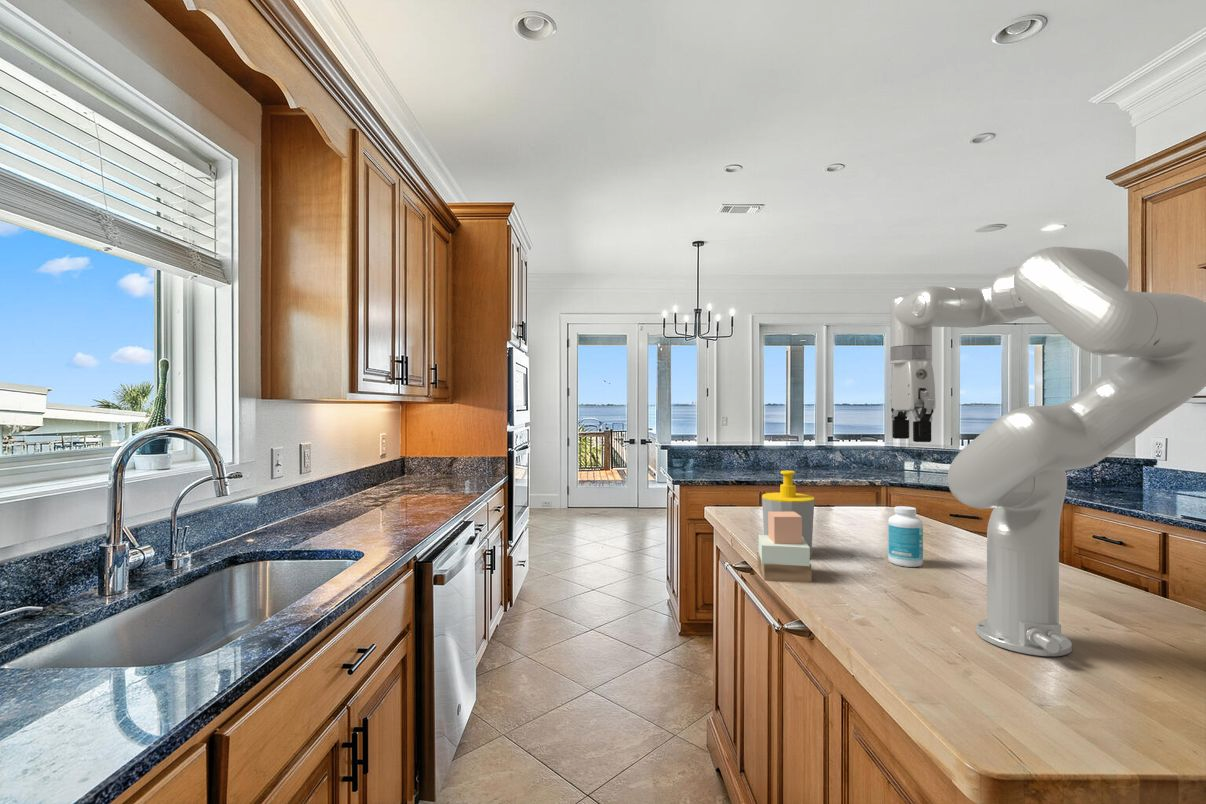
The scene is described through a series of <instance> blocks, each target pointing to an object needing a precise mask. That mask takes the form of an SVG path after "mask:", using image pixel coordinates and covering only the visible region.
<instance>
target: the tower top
mask: <svg viewBox="0 0 1206 804" xmlns="http://www.w3.org/2000/svg"><path fill="white" fill-rule="evenodd" d="M758 552H759V555H760V559H761V562H762V564H779V565H797V566H810V564H811V563H810V562H811V560H810V558H811V557H810V547H809V546H808V544H807V543H806V541H805V539H804V538H803V537H802V544H774V543H773V542H772V541H771V540H770V539H769V537H768V535H764V534H758Z"/></svg>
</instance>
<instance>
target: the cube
mask: <svg viewBox="0 0 1206 804" xmlns="http://www.w3.org/2000/svg"><path fill="white" fill-rule="evenodd" d="M768 537H769V539H770V540H771V541H772V542H773V543H774V544H802V517H801V516H800V515H798V514H797V513H796V512H768Z"/></svg>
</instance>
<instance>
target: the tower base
mask: <svg viewBox="0 0 1206 804" xmlns="http://www.w3.org/2000/svg"><path fill="white" fill-rule="evenodd" d="M756 568H757V570H758V572H759V574H760V576H761V578H762V579H763V581H764V582H766V581H768V582H769V581H770V582H792V583H794V582H796V583H797V582H798V583H799V582H800V583H812V582H813V581H812V576H813V575H812V568H813V566H812V564H811V563H810V566H797V565H779V564H762V562H761V559H760V555H759V551H756Z"/></svg>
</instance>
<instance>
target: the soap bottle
mask: <svg viewBox="0 0 1206 804" xmlns="http://www.w3.org/2000/svg"><path fill="white" fill-rule="evenodd" d="M780 474H781V475H783V476H782V477H783V479H782V480H783V481H782V482H783V483H782V484H780V487H779V491H780V492H767V493H762V495H761V503H762V505H761V507H762V520H763V522H762V523H763V525H762V526H763V535H768V512H796V513H797V514H798V515H800V516H801V517H802V537H803V538H804V539H805V541H806V543H807V544H808V546H809V547H810V558H811V557H812V555H813V554H812V550H813V549H812V548H813V534H814V516H815V514H814V513H815V496H813V495H810V494H806V493H805V494H804V493H797V486H796V484H793V477H794V476H793V475H796V471H795V470H787V469H786V470H781V471H780Z"/></svg>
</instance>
